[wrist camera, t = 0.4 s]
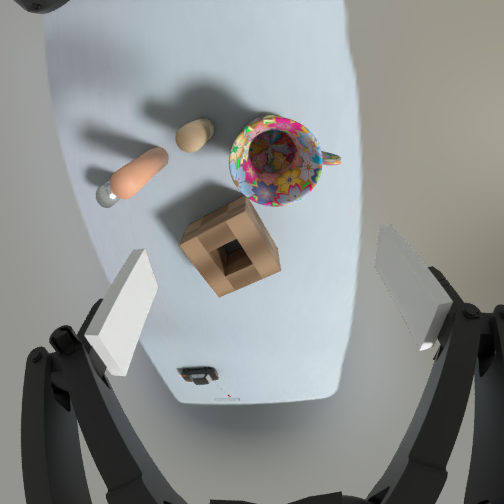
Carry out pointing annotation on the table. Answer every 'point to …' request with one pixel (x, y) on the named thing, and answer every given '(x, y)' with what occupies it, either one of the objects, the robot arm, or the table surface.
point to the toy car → (200, 376)
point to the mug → (277, 161)
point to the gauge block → (239, 261)
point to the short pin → (106, 195)
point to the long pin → (138, 172)
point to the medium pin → (194, 134)
